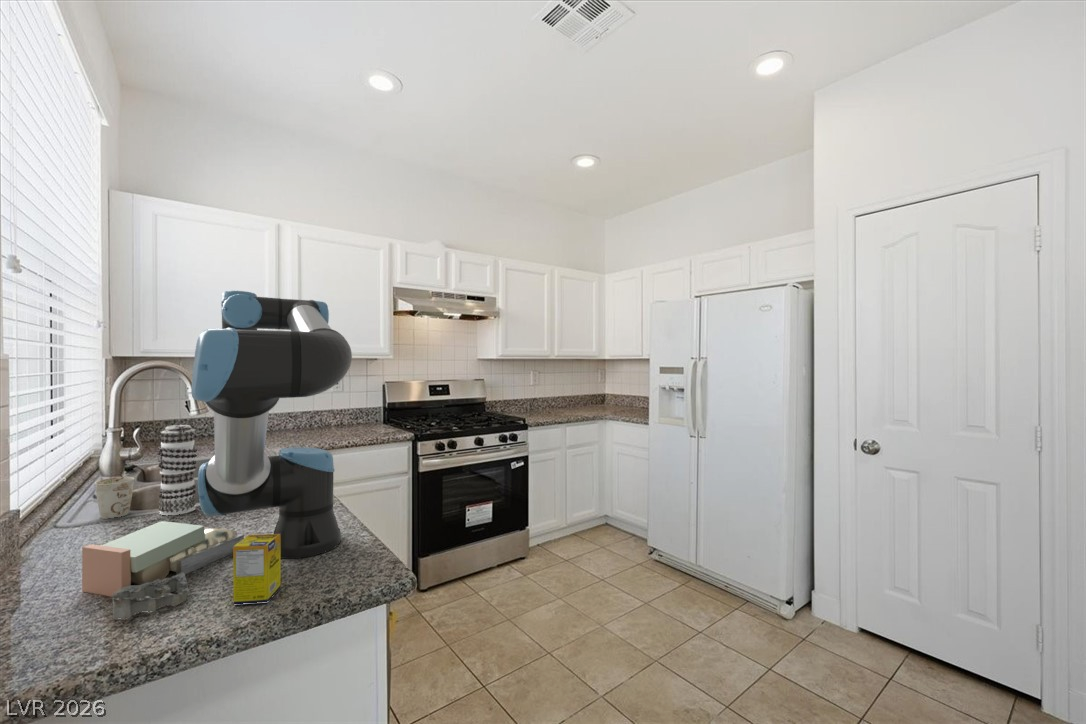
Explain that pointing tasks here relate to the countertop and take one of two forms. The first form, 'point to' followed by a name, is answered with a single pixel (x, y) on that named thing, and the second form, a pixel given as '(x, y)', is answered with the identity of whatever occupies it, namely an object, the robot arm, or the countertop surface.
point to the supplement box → (256, 568)
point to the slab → (158, 542)
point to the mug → (114, 496)
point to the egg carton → (149, 596)
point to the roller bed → (205, 550)
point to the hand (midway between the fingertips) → (239, 448)
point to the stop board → (105, 569)
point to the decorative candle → (177, 470)
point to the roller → (151, 573)
